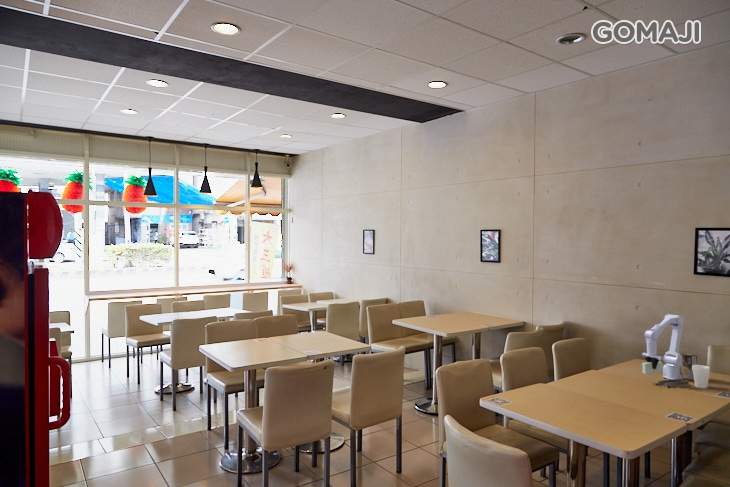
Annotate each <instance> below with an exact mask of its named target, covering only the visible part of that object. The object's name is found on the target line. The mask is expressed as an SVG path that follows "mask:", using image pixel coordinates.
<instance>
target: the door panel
mask: <svg viewBox="0 0 730 487" xmlns="http://www.w3.org/2000/svg"><path fill="white" fill-rule="evenodd" d="M641 366H642V367H641V368H642V369H641V370H642V374H643V375H648V374H649V375H651V374H659V373H662V374H663V361H661V360H659V362H658V364H657V367H656V369H653V368H652V362H647V361H645V362H641Z"/></svg>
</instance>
